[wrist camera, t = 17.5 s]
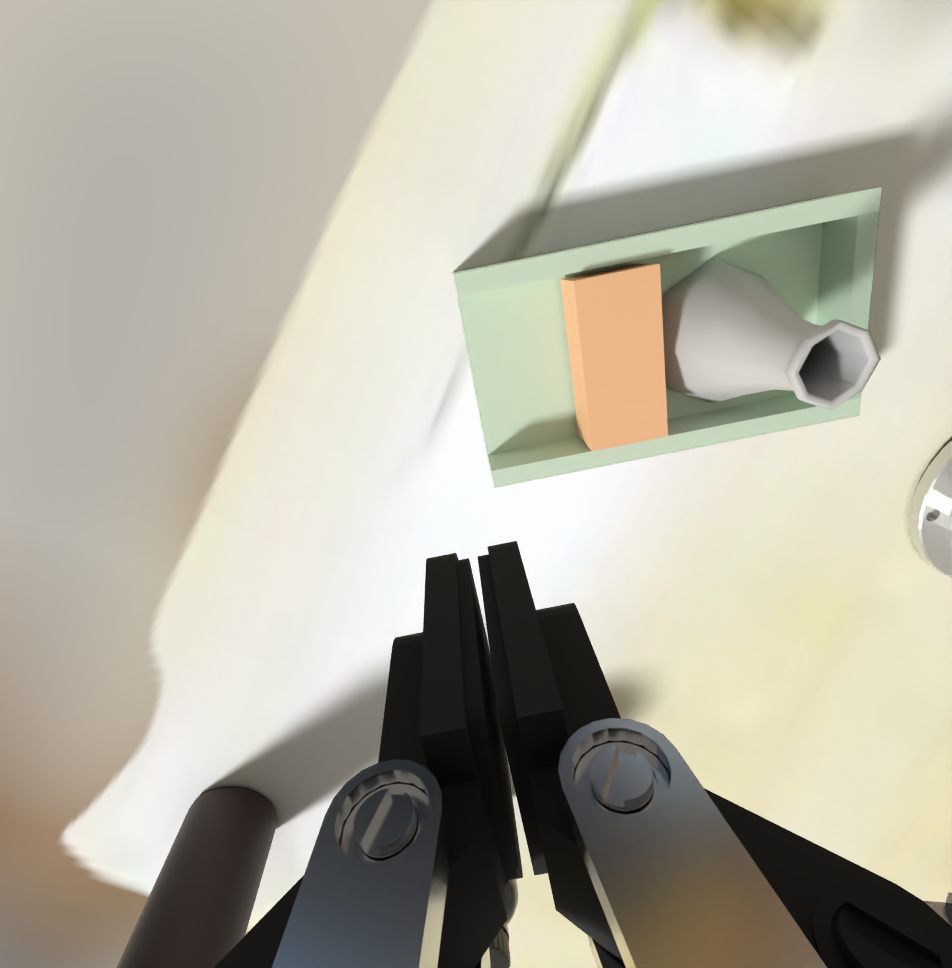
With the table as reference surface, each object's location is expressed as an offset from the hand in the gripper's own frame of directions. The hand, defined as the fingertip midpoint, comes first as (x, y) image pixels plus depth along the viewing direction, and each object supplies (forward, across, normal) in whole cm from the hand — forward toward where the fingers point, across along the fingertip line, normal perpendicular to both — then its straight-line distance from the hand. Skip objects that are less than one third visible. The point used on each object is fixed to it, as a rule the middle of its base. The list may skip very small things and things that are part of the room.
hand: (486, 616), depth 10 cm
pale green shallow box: (+22, -11, 0) cm, 25 cm away
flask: (+21, -14, 0) cm, 25 cm away
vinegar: (+22, +24, +30) cm, 45 cm away
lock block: (+21, -8, 0) cm, 22 cm away
